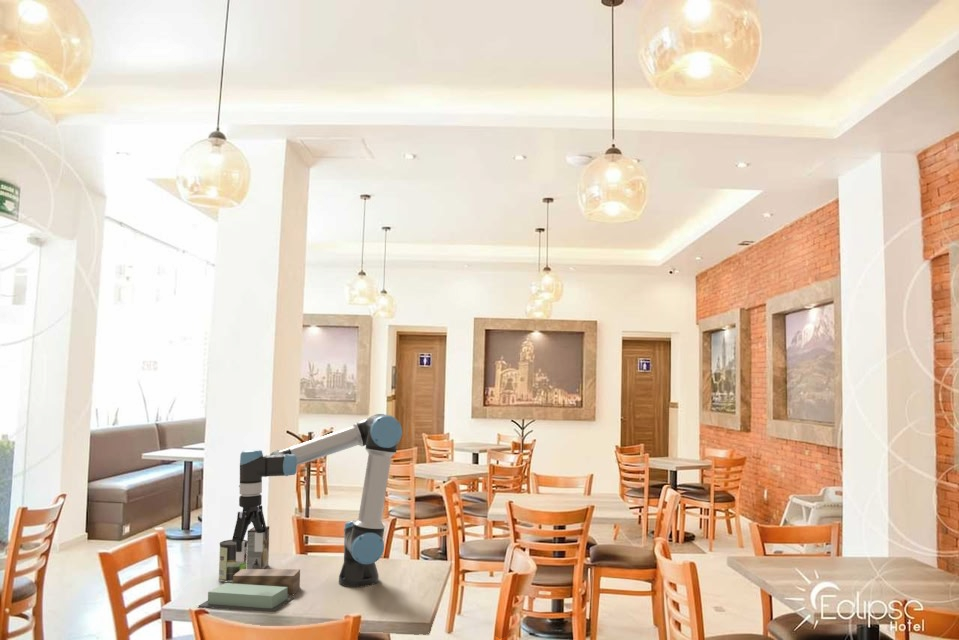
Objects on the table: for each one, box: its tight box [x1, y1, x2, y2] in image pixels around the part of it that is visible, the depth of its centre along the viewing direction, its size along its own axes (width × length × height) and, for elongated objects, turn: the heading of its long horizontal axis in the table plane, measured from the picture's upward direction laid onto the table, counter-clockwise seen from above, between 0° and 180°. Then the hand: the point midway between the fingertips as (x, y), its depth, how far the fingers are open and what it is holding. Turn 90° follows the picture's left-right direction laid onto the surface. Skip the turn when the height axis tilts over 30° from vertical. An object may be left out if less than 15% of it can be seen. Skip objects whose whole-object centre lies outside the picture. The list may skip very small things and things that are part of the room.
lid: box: [207, 582, 288, 608], centre depth 241 cm, size 24×11×4 cm, turn 78°
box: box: [232, 568, 301, 596], centre depth 255 cm, size 22×9×7 cm, turn 90°
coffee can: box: [218, 539, 247, 583], centre depth 272 cm, size 10×10×14 cm
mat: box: [198, 595, 295, 613], centre depth 241 cm, size 28×15×1 cm, turn 81°
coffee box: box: [246, 525, 270, 569], centre depth 288 cm, size 9×6×16 cm
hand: (249, 556), depth 243 cm, fingers open, 13 cm apart
